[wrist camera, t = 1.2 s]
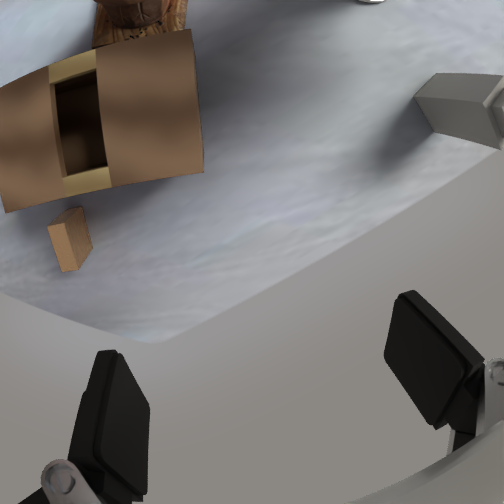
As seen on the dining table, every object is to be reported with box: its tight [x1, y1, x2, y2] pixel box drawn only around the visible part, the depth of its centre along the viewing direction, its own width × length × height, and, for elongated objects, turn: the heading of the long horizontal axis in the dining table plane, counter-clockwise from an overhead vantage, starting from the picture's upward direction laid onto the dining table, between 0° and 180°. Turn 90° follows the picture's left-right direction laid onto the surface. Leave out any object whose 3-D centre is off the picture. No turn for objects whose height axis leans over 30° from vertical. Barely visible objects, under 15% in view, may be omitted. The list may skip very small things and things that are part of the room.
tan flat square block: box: [47, 206, 93, 272], centre depth 33 cm, size 6×2×6 cm, turn 4°
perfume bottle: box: [413, 73, 504, 150], centre depth 26 cm, size 7×7×18 cm
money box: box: [0, 29, 204, 213], centre depth 25 cm, size 12×20×12 cm, turn 94°
